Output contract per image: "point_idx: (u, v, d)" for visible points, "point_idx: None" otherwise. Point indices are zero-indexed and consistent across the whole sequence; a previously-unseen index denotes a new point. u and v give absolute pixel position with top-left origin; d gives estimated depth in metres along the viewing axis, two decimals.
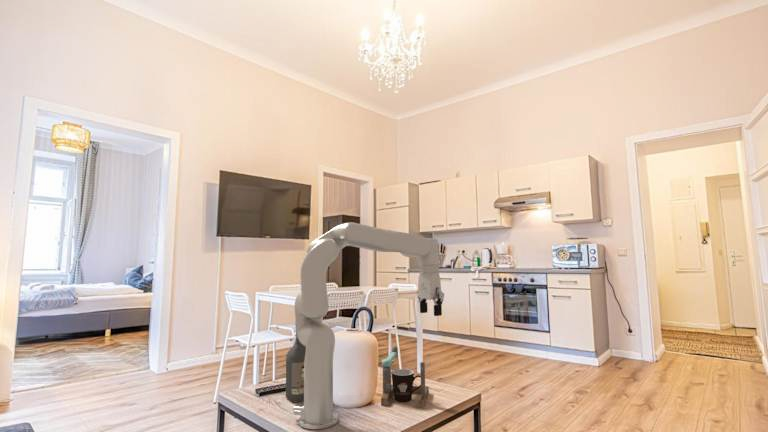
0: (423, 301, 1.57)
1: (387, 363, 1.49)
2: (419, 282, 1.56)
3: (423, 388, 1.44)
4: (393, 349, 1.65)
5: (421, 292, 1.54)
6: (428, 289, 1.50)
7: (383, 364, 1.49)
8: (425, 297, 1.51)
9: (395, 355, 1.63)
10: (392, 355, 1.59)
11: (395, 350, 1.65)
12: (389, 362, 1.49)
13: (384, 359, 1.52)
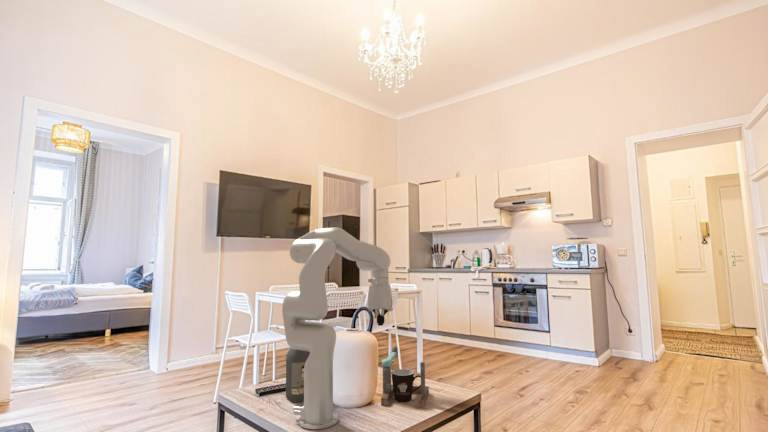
0: (379, 312, 1.69)
1: (387, 363, 1.49)
2: (371, 294, 1.68)
3: (423, 388, 1.44)
4: (393, 349, 1.65)
5: (374, 303, 1.67)
6: (385, 299, 1.66)
7: (383, 364, 1.49)
8: (381, 307, 1.66)
9: (395, 355, 1.63)
10: (392, 355, 1.59)
11: (395, 350, 1.65)
12: (389, 362, 1.49)
13: (384, 359, 1.52)
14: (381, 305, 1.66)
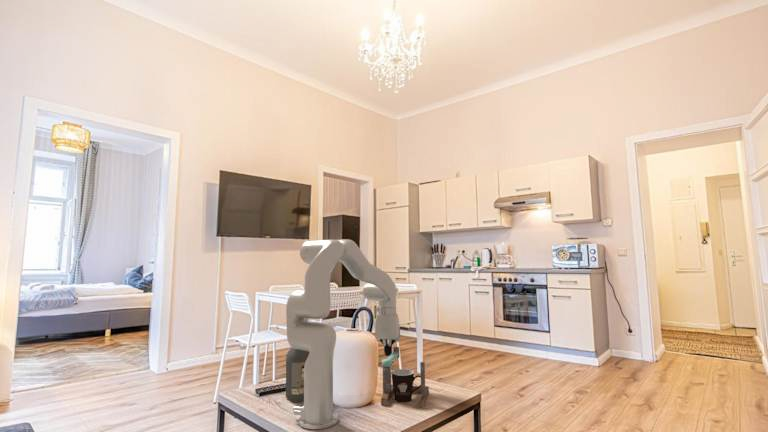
0: (386, 342, 1.67)
1: (387, 363, 1.49)
2: (378, 323, 1.66)
3: (423, 388, 1.44)
4: (395, 349, 1.65)
5: (381, 333, 1.65)
6: (392, 330, 1.64)
7: (383, 364, 1.49)
8: (388, 337, 1.64)
9: (396, 355, 1.62)
10: (393, 355, 1.59)
11: (397, 350, 1.65)
12: (389, 362, 1.49)
13: (384, 359, 1.52)
14: (388, 335, 1.64)
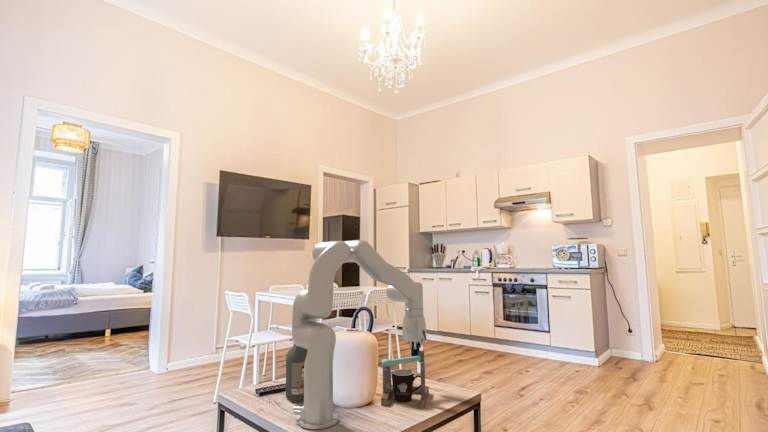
0: (414, 345, 1.61)
1: (383, 363, 1.49)
2: (404, 324, 1.63)
3: (423, 388, 1.44)
4: (418, 353, 1.57)
5: (406, 334, 1.61)
6: (415, 332, 1.57)
7: (382, 363, 1.51)
8: (411, 339, 1.59)
9: (416, 359, 1.55)
10: (406, 358, 1.54)
11: (419, 354, 1.57)
12: (385, 362, 1.49)
13: (387, 359, 1.52)
14: (411, 338, 1.59)
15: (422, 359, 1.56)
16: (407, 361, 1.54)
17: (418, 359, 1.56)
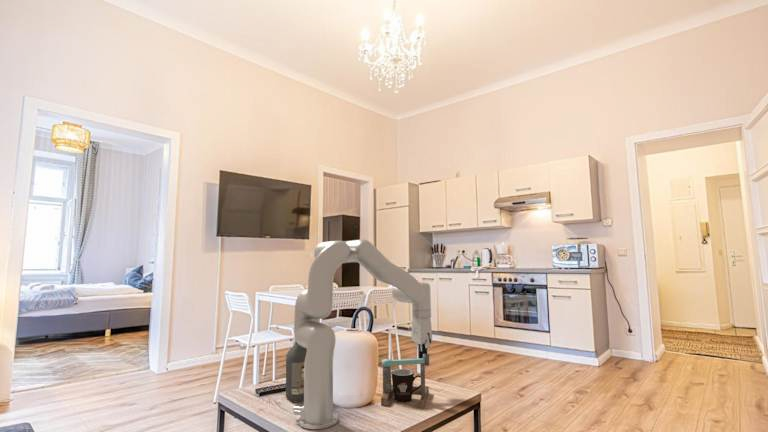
0: None
1: (382, 363, 1.50)
2: (412, 325, 1.60)
3: (423, 388, 1.44)
4: (423, 355, 1.53)
5: (414, 336, 1.58)
6: (419, 334, 1.54)
7: None
8: (417, 341, 1.55)
9: (419, 362, 1.52)
10: (408, 359, 1.51)
11: (423, 357, 1.52)
12: (384, 362, 1.49)
13: (388, 359, 1.52)
14: (417, 339, 1.55)
15: (426, 362, 1.52)
16: (409, 363, 1.51)
17: None
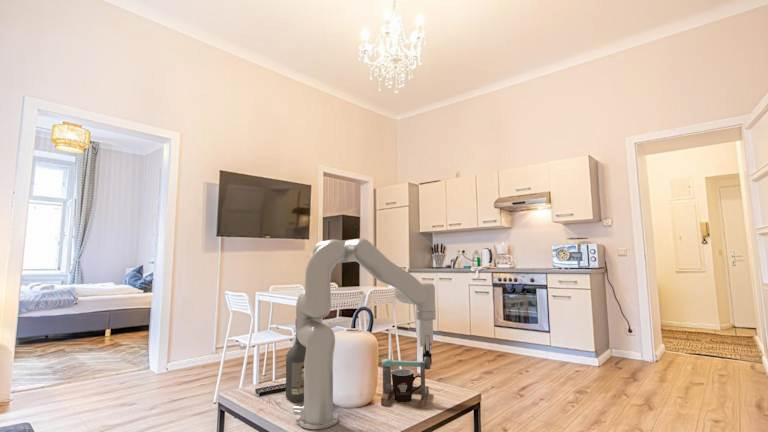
0: None
1: (382, 362, 1.50)
2: None
3: (423, 388, 1.44)
4: None
5: None
6: (419, 336, 1.49)
7: None
8: (419, 343, 1.51)
9: (419, 365, 1.47)
10: (408, 361, 1.49)
11: (424, 360, 1.47)
12: (383, 362, 1.50)
13: (389, 359, 1.52)
14: (419, 341, 1.51)
15: (426, 366, 1.47)
16: (408, 365, 1.48)
17: None
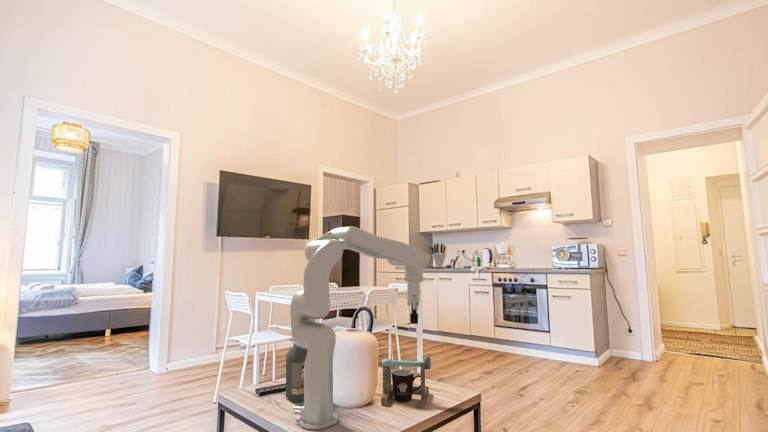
0: None
1: (382, 362, 1.50)
2: None
3: (423, 388, 1.44)
4: None
5: None
6: (407, 296, 1.60)
7: None
8: None
9: (419, 365, 1.47)
10: (408, 361, 1.49)
11: (424, 360, 1.47)
12: (383, 362, 1.50)
13: (389, 359, 1.52)
14: None
15: (426, 366, 1.46)
16: (408, 365, 1.48)
17: None
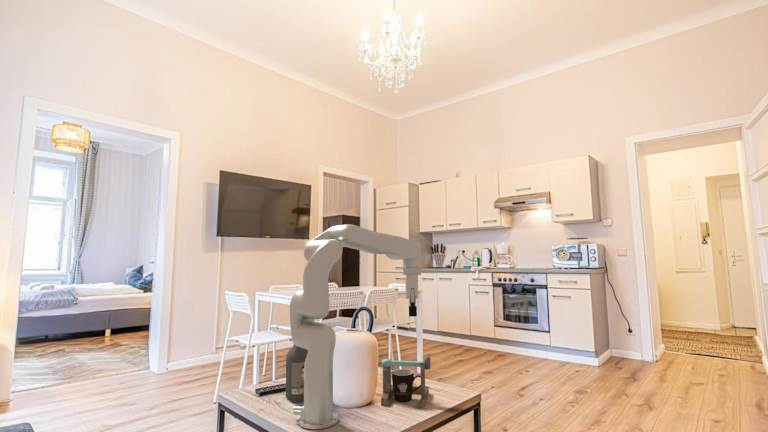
0: None
1: (382, 362, 1.50)
2: None
3: (423, 388, 1.44)
4: None
5: None
6: None
7: None
8: None
9: (419, 365, 1.47)
10: (408, 361, 1.49)
11: (424, 360, 1.47)
12: (383, 362, 1.50)
13: (389, 359, 1.52)
14: None
15: (426, 366, 1.46)
16: (408, 365, 1.48)
17: None
